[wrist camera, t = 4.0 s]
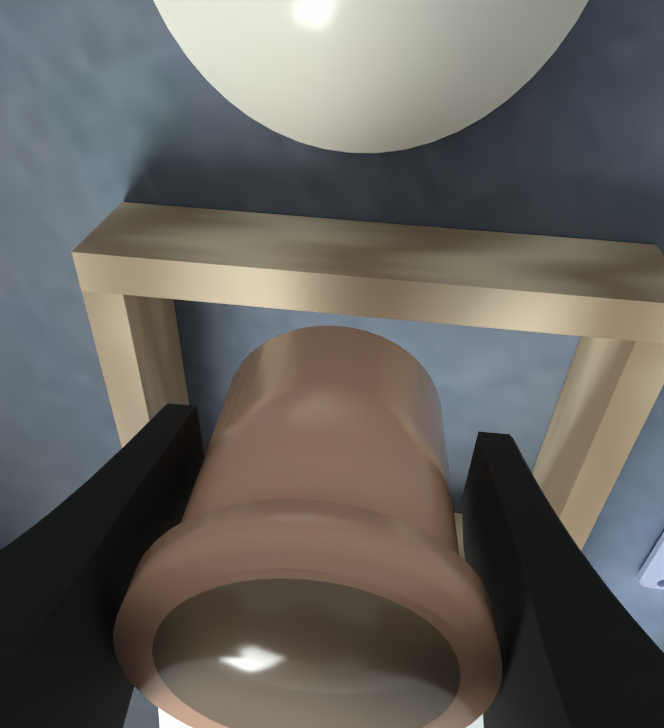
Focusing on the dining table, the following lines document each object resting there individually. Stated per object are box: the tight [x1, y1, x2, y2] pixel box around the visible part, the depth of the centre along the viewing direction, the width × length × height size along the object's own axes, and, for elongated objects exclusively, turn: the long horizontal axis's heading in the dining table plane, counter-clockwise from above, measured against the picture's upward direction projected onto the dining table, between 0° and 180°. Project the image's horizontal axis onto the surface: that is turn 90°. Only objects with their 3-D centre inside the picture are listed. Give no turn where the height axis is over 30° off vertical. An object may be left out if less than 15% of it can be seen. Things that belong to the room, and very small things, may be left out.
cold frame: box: [72, 202, 664, 728], centre depth 24 cm, size 16×28×8 cm, turn 178°
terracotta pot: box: [113, 326, 502, 728], centre depth 11 cm, size 6×6×6 cm
